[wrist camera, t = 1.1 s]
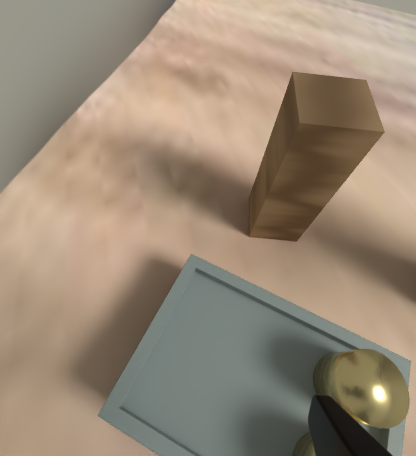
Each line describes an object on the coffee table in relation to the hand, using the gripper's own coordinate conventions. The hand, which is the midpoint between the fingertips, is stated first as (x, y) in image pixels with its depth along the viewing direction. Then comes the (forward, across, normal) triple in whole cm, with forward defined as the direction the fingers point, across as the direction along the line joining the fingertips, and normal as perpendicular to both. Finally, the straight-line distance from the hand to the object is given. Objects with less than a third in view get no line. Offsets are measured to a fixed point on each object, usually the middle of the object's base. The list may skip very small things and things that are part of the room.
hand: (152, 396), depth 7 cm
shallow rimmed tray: (+10, -6, +9) cm, 15 cm away
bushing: (+8, -11, +7) cm, 15 cm away
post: (+20, -8, -1) cm, 21 cm away
